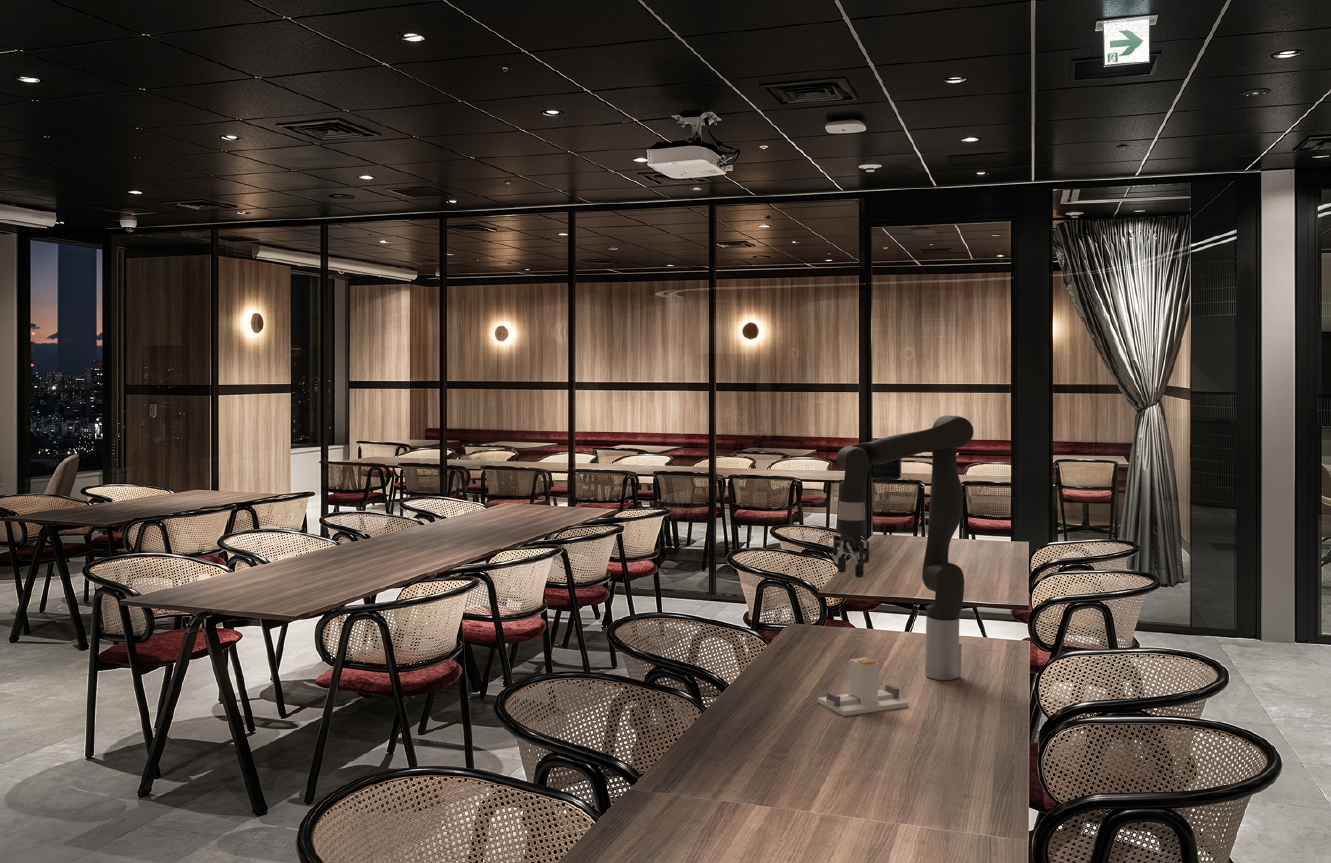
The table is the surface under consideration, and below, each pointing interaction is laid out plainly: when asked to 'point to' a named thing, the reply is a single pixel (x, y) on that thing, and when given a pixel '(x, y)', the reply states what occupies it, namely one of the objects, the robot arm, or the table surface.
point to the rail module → (863, 680)
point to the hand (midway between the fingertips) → (850, 574)
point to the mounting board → (852, 704)
